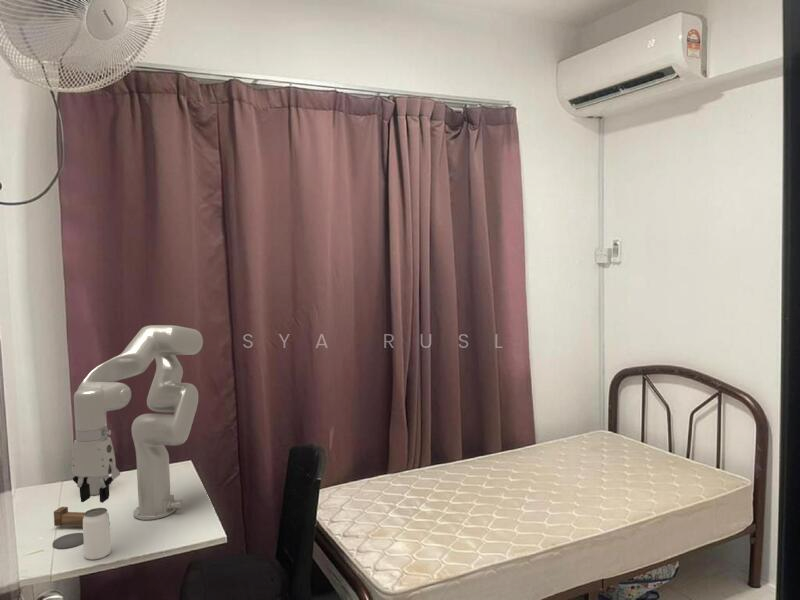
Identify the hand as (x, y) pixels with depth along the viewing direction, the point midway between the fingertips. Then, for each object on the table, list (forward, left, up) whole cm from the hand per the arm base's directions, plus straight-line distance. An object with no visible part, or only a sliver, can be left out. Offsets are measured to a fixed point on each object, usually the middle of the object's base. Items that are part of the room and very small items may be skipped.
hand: (95, 499), depth 165 cm
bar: (+17, -16, -14) cm, 28 cm away
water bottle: (+28, -43, -16) cm, 54 cm away
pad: (+12, -7, -15) cm, 21 cm away
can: (0, 0, -16) cm, 16 cm away
